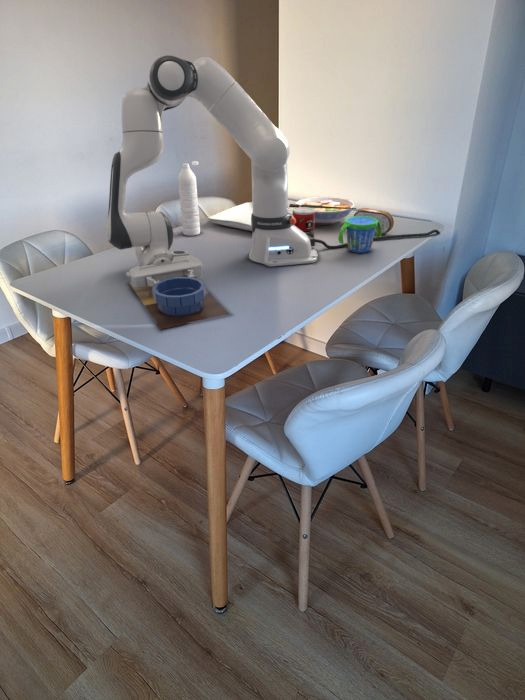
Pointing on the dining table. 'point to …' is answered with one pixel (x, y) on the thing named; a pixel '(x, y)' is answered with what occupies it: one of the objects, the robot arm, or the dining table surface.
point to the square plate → (236, 216)
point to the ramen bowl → (327, 208)
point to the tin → (378, 218)
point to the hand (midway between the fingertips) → (174, 282)
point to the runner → (146, 294)
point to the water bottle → (189, 200)
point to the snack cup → (360, 233)
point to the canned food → (305, 219)
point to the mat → (207, 311)
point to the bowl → (179, 295)
